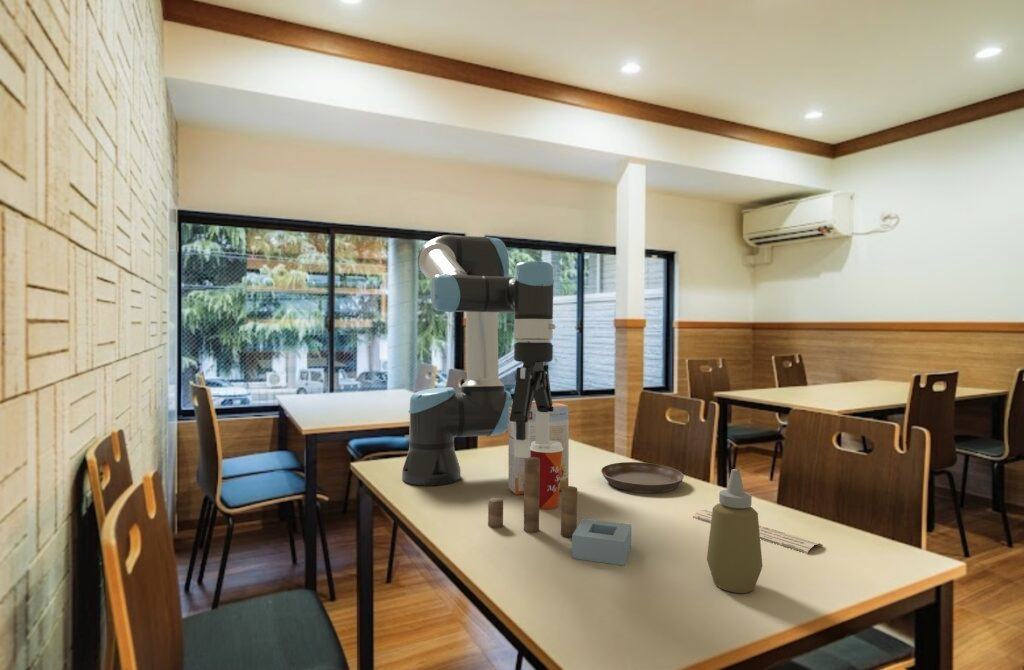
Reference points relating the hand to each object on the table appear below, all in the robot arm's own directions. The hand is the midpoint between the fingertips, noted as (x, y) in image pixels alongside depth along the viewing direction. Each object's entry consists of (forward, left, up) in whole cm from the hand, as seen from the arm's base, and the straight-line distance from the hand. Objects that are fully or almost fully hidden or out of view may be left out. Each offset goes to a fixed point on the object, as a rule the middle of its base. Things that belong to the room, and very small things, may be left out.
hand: (532, 450), depth 110 cm
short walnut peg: (0, -8, -16) cm, 18 cm away
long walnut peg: (0, 0, -16) cm, 16 cm away
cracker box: (-27, -7, -16) cm, 32 cm away
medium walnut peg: (0, +7, -16) cm, 17 cm away
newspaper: (-15, +41, -17) cm, 47 cm away
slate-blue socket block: (+6, +15, -16) cm, 22 cm away
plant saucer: (-42, +17, -16) cm, 48 cm away
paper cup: (-16, -2, -16) cm, 23 cm away
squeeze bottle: (+12, +36, -16) cm, 41 cm away
